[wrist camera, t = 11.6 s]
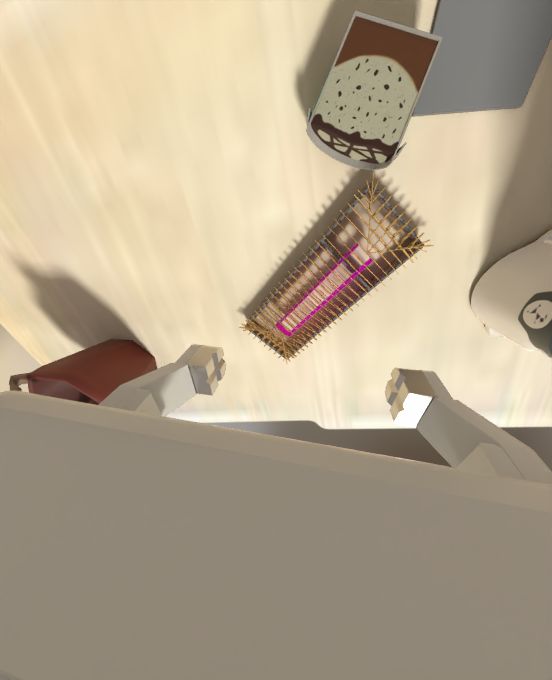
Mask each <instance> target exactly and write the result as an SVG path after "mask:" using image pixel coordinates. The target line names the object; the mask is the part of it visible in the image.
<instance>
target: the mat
mask: <svg viewBox="0 0 552 680" xmlns="http://www.w3.org/2000/svg"><path fill="white" fill-rule="evenodd" d="M431 34H434V35H437V36H440V37H443V39H442V41H441V44H440V46H439V49H438V51H437V54H436V56H435V59H434V61H433V63H432V66H431V68H430V71H429V73H428V76H427V78H426V81H425V83H424V86H423V88H422V91H421V93H420V96H419V98H418V101H417V103H416V106H415V108H414V111H413V113H412V116H424V115H437V114H449V113H461V112H473V111H486V110H498V109H510V108H519V107H521V106H522V104H523V102H524V100H525V97H526V95H527V93H528V91H529V88H530V86H531V84H532V81H533V79H534V77H535V74H536V72H537V70H538V67H539V65H540V63H541V61H542V58H543V56H544V54H545V51H546V49H547V47H548V44H549V42H550V40H551V37H552V0H439V4H438V8H437V12H436V17H435V21H434V25H433V29H432V33H431Z"/></svg>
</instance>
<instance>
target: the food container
mask: <svg viewBox="0 0 552 680" xmlns="http://www.w3.org/2000/svg"><path fill="white" fill-rule="evenodd" d="M442 39H443V37H440V36H437V35H434V34H431V33H427V32H424V31H421V30H418V29H414V28H411V27H408V26H404V25H401V24H398V23H395V22H391V21H388V20H385V19H381V18H378V17H375V16H372V15H368V14H365V13H362V12H359V11H354V14H353V16H352V19H351V21H350V23H349V26H348V28H347V31H346V33H345V36H344V38H343V40H342V43H341V45H340V48H339V50H338V53H337V55H336V58H335V60H334V62H333V65H332V67H331V70H330V72H329V75H328V77H327V79H326V82H325V84H324V87H323V89H322V92H321V94H320V96H319V99H318V101H317V104H316V106H315V109H314V111H313V114H312V112H311V108H309V111H308V117H307V123H306V124H307V129H306V132H307V135H308V136H309V138H310V139H311V141H312V142H313V143H314V144H315V145H316V146H317V147H318V148H319V149H320V150H321V151H323V152H324V153H325V154H327V155H329V156H330V157H332V158H334V159H335V160H337V161H340V162H342V163H344V164H347V165H350V166H353V167H356V168H361V169H367V170H378V169H383V168H386V167H388V166H389V165H390V164H391V163H392V161H393V160H395V159H396V158H397V156H398V155H399V153H400V152H401V151H402V149H403V148H404V146H405V145H406V142H405V144H404V145H403V146H402V147H400V148H399V146H400V143H401V141H402V138H403V136H404V133H405V131H406V128H407V126H408V123H409V121H410V118H411V116H412V113H413V111H414V108H415V106H416V103H417V101H418V98H419V96H420V93H421V91H422V88H423V86H424V83H425V81H426V78H427V76H428V73H429V71H430V68H431V66H432V63H433V61H434V59H435V56H436V54H437V51H438V49H439V46H440V44H441V41H442ZM398 148H399V149H398Z"/></svg>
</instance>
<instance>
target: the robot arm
mask: <svg viewBox="0 0 552 680" xmlns="http://www.w3.org/2000/svg"><path fill="white" fill-rule="evenodd" d="M471 307H472V311H473V313H474V314H475V316H476V317H477V318H478V319H480V320H481V321H482V322H483V323H484V324H485V328H486V332H487V333H488V334H489V335H490V336H492V337H505V338H507V339H509V340H510V341H512V342H514V343H516V344H517V345H519V346H521V347H523V348H524V349H526V350H529V351H533V350H540V351H541V352H542V353H544V354H545V355H547V356H548V357H550V358H552V229H551V230H549V231H548V232H547V233H545V234H544V235H543V236H541V237H540V238H539V239H537V240H536V241H535V242H533V243H531V244H529V245H527V246H525V247H523V248H521V249H518V250H516V251H514V252H512V253H510V254H509V255H507V256H505V257H504V258H502V259H501V260H499V261H498V262H497V263H495V264H494V265H493V266H492V267H491V268H490V269H488V270H487V271H486V273H485V274H484V275H483V276H482V277H481V278H480V280H479V281H478V283H477V284H476V286H475V288H474V291H473V293H472V297H471ZM223 355H224V352H223V349H222V348H219V347H212V346H205V345H196V344H193V345H191V346H190V347H189V348H188V349H187V351H186V352H185V353H184V354H183V355H182V356H181V357H180V358H179V359H178V360H177V361H176V362H175V363H170V364H168V365H166V366H163V367H161V368H159V369H156V370H154V371H152V372H150V373H147V374H145V375H143V376H140V377H138V378H136V379H133V380H131V381H129V382H126V383H124V384H122V385H120V386H119V387H118V388H117V389H115V390H114V391H113V392H112V393H111V394H110V395H109V396H108V397H107V398H105V399H104V400H103V401H102V402H101V403H100V404H99V405H95V404H89V403H83V402H78V401H72V400H66V399H61V398H55V397H49V396H43V395H38V394H33V393H28V392H23V391H5V392H1V393H0V680H552V472H551V471H550V469H549V468H548V467H547V466H546V465H545V464H544V462H543V461H542V460H541V459H540V458H539V456H538V455H537V454H536V453H535V452H534V451H533V450H532V449H531V448H529V447H528V446H526V445H525V444H523V443H522V442H520V441H518V440H517V439H515V438H514V437H513V436H511V435H510V434H508V433H507V432H505V431H504V430H502V429H501V428H499V427H497V426H496V425H494V424H493V423H491V422H490V421H488V420H487V419H485V418H484V417H482V416H481V415H479V414H478V413H476V412H475V411H473V410H472V409H470V408H469V407H467V406H466V405H464V404H463V403H461V402H460V401H458V400H453V398H452V397H451V395H450V394H449V392H448V391H447V389H446V388H445V386H444V385H443V383H442V382H441V381H440V379H439V378H438V376H437V375H436V373H435V372H433V371H425V370H411V369H402V368H394V369H393V370H392V373H391V376H392V379H391V380H390V381H388V383H387V385H386V391H385V394H386V399H387V402H388V403H389V404H390V405H391V406H392V407H391V409H390V412H391V415H392V418H393V421H394V423H397V424H403V425H408V426H414V427H416V429H417V430H418V431H419V432H420V433H421V434H422V435H423V436H424V437H425V438H426V439H427V440H428V441H429V442H430V444H431V445H432V446H433V447H434V448H435V449H436V450H437V451H438V452H439V453H440V454H441V455H442V456H443V457H444V458H445V460H446V461H447V462H448V463H449V464H450V465H451V466H452V467H447V466H441V465H436V464H430V463H424V462H418V461H413V460H407V459H402V458H396V457H391V456H385V455H379V454H374V453H368V452H362V451H356V450H351V449H345V448H339V447H334V446H328V445H322V444H317V443H311V442H305V441H300V440H294V439H288V438H283V437H277V436H271V435H265V434H260V433H253V432H248V431H243V430H237V429H231V428H225V427H220V426H214V425H209V424H203V423H197V422H192V421H186V420H180V419H175V418H169V417H165V416H167V415H168V414H169V413H171V412H172V411H174V410H175V409H176V408H178V407H179V406H181V405H182V404H183V403H185V402H186V401H188V400H189V399H190V398H192V397H193V396H195V395H196V393H198V394H206V395H213V394H214V392H215V390H216V389H217V387H218V381H220V380H221V379H222V378H223V376H224V374H225V370H226V364H225V361H224V360H223V358H222V357H223Z"/></svg>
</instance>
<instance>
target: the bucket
mask: <svg viewBox="0 0 552 680" xmlns="http://www.w3.org/2000/svg"><path fill="white" fill-rule="evenodd" d="M156 369H157V366H156V362H155V358H154V357H153V356H152V355H151V354H149V353H148V352H147V351H145V350H144V349H143V348H142V347H140V346H139V345H138V344H136V343H135V342H134V341H133V340H114V339H110V340H108V341H105V342H103V343H100V344H98V345H95V346H92V347H90V348H87V349H85V350H82V351H80V352H77V353H75V354H72V355H69V356H67V357H64V358H62V359H59V360H57V361H54V362H52V363H49V364H46V365H44V366H42V367H40V368H38V369H37V370H35V371H33V372H31V373H25V374H19V375H14V376H11V377H10V382H9V385H10V391H21V388H19V387H18V386H19V385H21V384H26V383H28V388H29V393H33V394H38V395H43V396H49V397H55V398H61V399H66V400H72V401H78V402H83V403H89V404H95V405H99V404H100V403H101V402H102V401H103V400H104V399H105V398H107V397H108V396H109V395H110V394H111V393H112V392H113V391H114V390H115V389H117V388H118V387H119V386H120V385H122V384H124V383H126V382H129V381H131V380H133V379H136V378H138V377H140V376H143V375H145V374H147V373H150V372H152V371H154V370H156Z"/></svg>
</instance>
